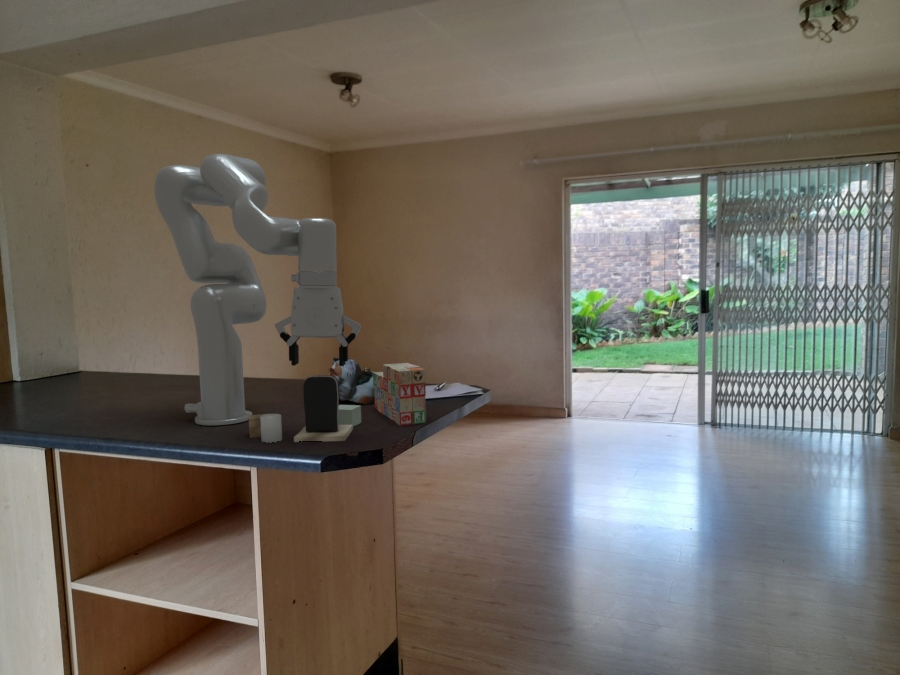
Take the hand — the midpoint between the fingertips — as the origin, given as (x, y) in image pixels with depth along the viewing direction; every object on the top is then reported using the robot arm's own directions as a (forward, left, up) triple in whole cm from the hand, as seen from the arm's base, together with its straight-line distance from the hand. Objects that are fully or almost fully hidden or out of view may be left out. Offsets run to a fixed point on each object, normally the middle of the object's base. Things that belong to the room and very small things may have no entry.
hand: (318, 364), depth 125 cm
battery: (0, 0, -14) cm, 14 cm away
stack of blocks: (+14, +18, -15) cm, 27 cm away
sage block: (+4, +9, -15) cm, 18 cm away
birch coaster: (+1, 0, -15) cm, 15 cm away
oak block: (-13, +2, -15) cm, 20 cm away
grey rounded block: (-9, -3, -15) cm, 18 cm away
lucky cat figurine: (+2, +37, -15) cm, 40 cm away
